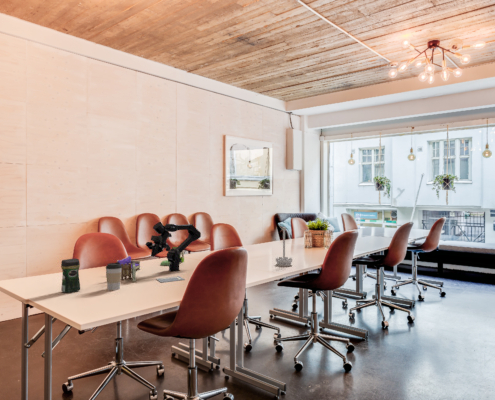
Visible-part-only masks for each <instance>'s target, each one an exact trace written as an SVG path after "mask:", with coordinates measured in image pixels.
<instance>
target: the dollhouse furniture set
mask: <svg viewBox="0 0 495 400" xmlns="http://www.w3.org/2000/svg"><path fill="white" fill-rule="evenodd" d="M177 247H178V246H172V247H171V249H176V248H177ZM179 257H180V258H181V262H179V265H180V264H181V263H182V264H183V263H184V262H185V251H184V250H183V251H182V252H181V253H180V256H179ZM169 264H170V262H168V259H167V260H162V261H161V262H160V264H159V265H160V266H162V267H163V266H169Z"/></svg>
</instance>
